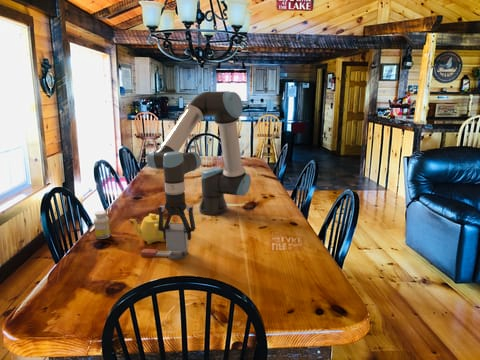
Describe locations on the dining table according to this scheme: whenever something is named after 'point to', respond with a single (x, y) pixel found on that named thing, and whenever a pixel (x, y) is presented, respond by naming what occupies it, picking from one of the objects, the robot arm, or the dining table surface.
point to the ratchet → (164, 253)
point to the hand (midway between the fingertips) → (177, 246)
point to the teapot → (150, 229)
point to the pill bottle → (102, 225)
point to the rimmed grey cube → (176, 237)
